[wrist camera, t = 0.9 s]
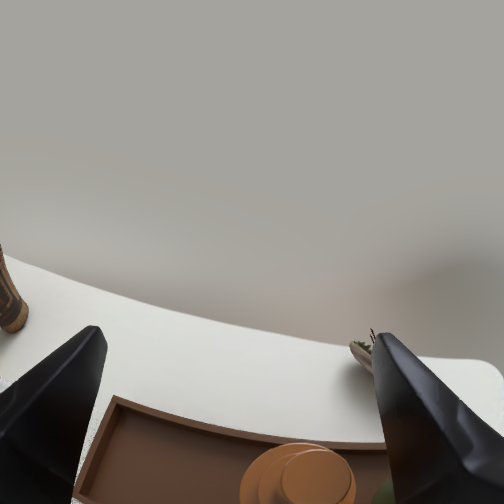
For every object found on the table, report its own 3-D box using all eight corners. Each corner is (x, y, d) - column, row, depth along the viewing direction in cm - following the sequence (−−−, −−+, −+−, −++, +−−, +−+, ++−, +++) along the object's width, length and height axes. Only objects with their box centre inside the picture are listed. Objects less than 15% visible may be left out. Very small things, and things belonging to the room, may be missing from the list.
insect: (363, 318, 23) (340, 348, 22) (449, 381, 18) (426, 413, 18) (363, 330, 28) (344, 354, 27) (433, 382, 23) (414, 408, 23)
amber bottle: (314, 536, 13) (389, 550, 4) (238, 528, 14) (211, 540, 5) (324, 474, 17) (398, 410, 8) (253, 466, 18) (248, 397, 9)
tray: (452, 544, 10) (468, 543, 8) (84, 500, 14) (70, 495, 13) (455, 444, 17) (469, 435, 16) (123, 405, 22) (113, 394, 21)
